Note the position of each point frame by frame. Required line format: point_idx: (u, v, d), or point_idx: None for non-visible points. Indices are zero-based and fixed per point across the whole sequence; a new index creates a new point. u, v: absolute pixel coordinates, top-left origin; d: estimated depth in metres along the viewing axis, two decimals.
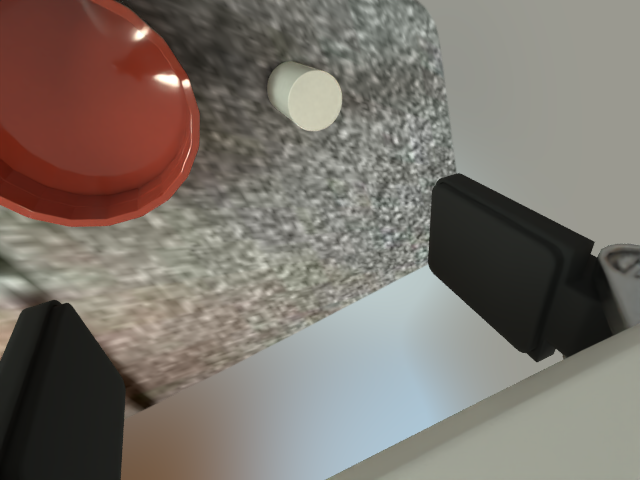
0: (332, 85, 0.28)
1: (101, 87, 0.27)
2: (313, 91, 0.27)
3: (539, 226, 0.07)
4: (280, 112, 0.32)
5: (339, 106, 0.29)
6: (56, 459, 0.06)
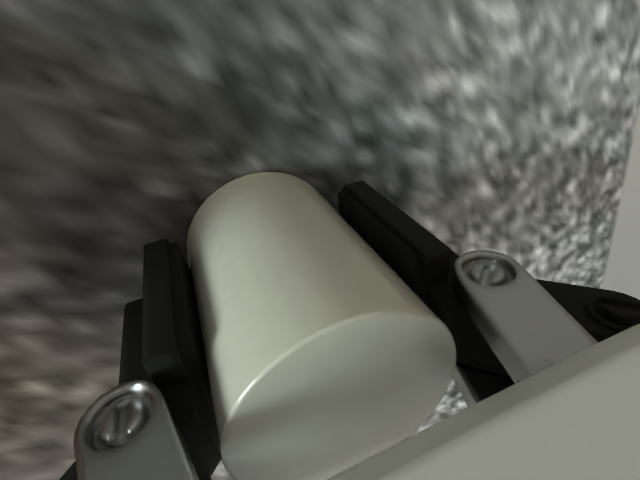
0: (426, 347, 0.06)
1: None
2: (342, 388, 0.06)
3: (409, 233, 0.08)
4: None
5: (440, 393, 0.07)
6: (199, 347, 0.07)
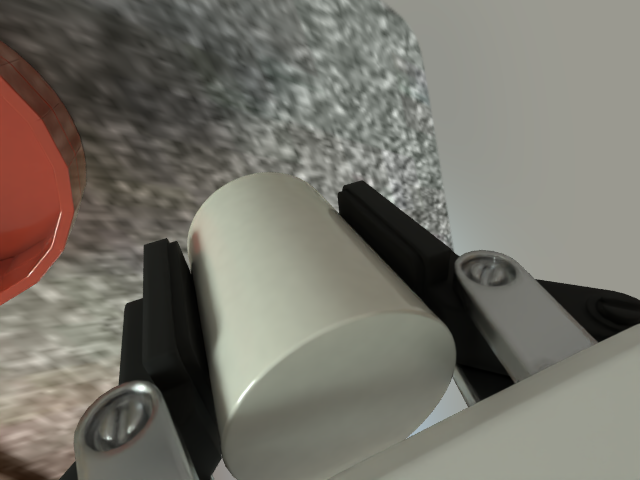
0: (426, 346, 0.06)
1: None
2: (342, 388, 0.06)
3: (409, 233, 0.08)
4: None
5: (440, 392, 0.07)
6: (199, 348, 0.07)
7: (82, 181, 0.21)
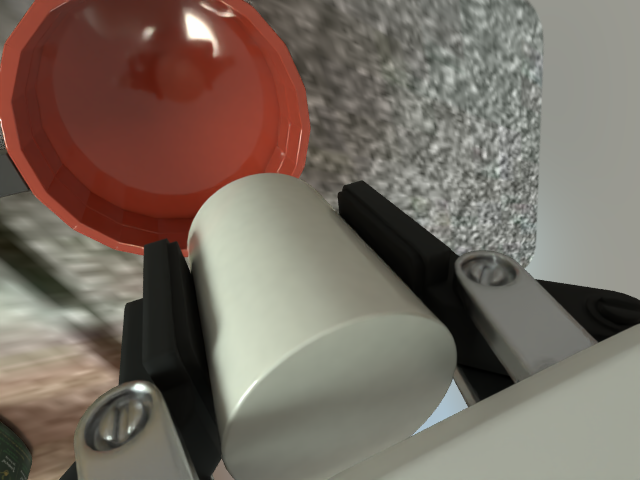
0: (427, 348, 0.06)
1: (194, 97, 0.23)
2: (343, 390, 0.06)
3: (409, 233, 0.08)
4: None
5: (441, 394, 0.07)
6: (199, 347, 0.07)
7: None
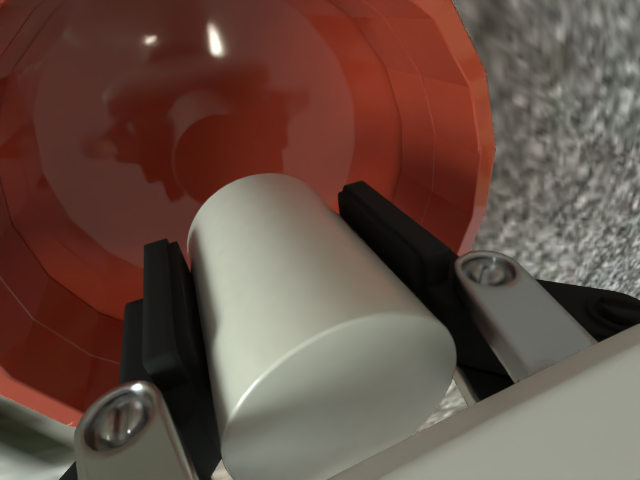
0: (427, 349, 0.06)
1: (275, 154, 0.14)
2: (342, 390, 0.06)
3: (409, 233, 0.08)
4: None
5: (441, 394, 0.07)
6: (199, 347, 0.07)
7: None
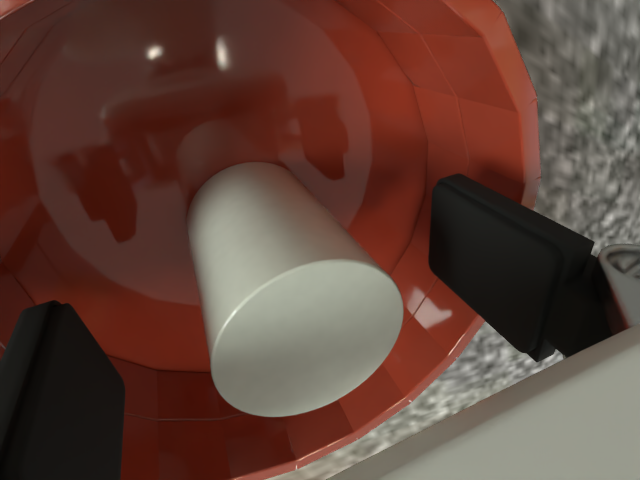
0: (375, 293, 0.08)
1: None
2: (307, 324, 0.07)
3: (539, 226, 0.07)
4: None
5: (393, 337, 0.09)
6: (56, 459, 0.06)
7: None
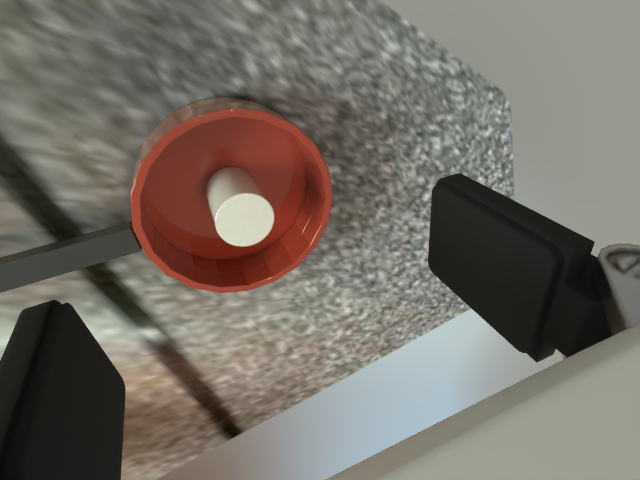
0: (262, 204, 0.27)
1: None
2: (241, 212, 0.27)
3: (539, 226, 0.07)
4: None
5: (271, 222, 0.28)
6: (56, 459, 0.06)
7: None
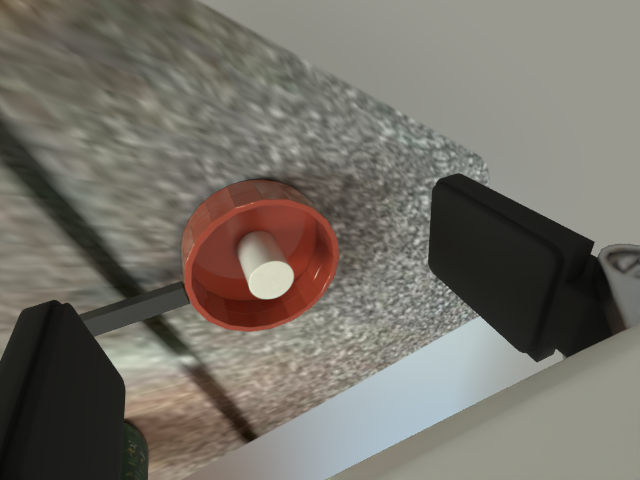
0: (284, 268, 0.35)
1: None
2: (269, 275, 0.34)
3: (539, 226, 0.07)
4: None
5: (291, 280, 0.36)
6: (56, 459, 0.06)
7: None
